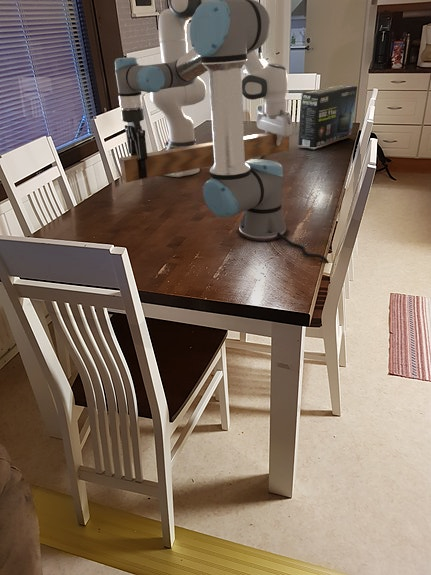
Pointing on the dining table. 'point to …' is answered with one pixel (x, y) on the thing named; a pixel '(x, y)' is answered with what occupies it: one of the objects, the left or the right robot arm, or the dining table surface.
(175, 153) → the bar
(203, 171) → the dining table surface
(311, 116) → the router box
